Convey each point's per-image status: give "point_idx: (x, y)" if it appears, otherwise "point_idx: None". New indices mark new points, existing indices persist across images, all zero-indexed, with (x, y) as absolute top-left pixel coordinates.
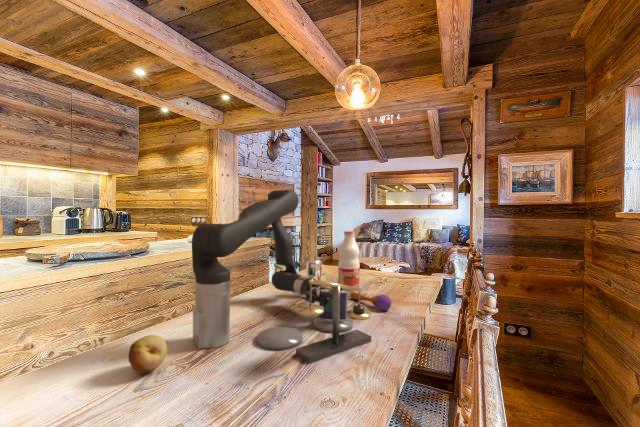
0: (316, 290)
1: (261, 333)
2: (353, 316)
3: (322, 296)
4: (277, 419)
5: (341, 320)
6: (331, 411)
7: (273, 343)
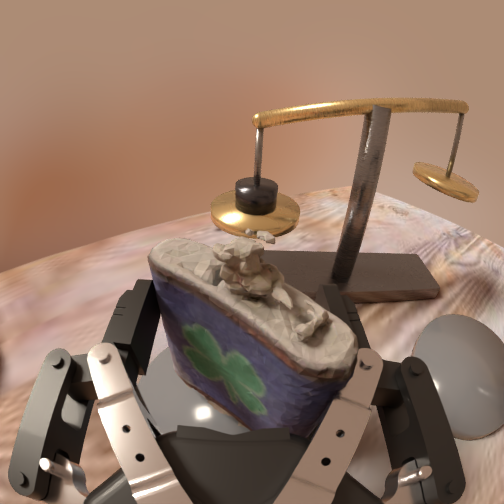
0: (355, 443)
1: None
2: (294, 201)
3: (350, 322)
4: (446, 220)
5: (193, 389)
6: (398, 205)
7: (483, 332)
